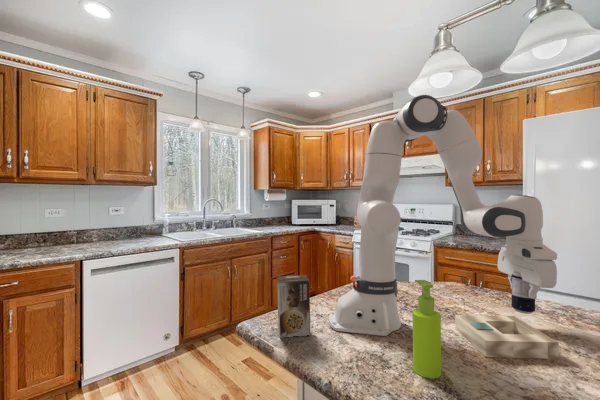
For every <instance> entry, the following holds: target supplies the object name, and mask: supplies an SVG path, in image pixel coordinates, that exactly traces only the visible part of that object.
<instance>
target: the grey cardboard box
mask: <svg viewBox="0 0 600 400" xmlns="http://www.w3.org/2000/svg"><path fill="white" fill-rule="evenodd" d="M276 279H277V282H276V283H277V287H276V288H277V290H276V291H277V329H278V330H277V331H278V336H280V337H289V338H294V337H293V336H299V337H307V335H309V336H311V334H312V333H311V307H310V306H311V305H310V304H311V303H310V302H311V299H310V297H311V295H310V293H311V292H310V279H309V278H308V277H307V275H306V274H301V275H300V274H298V275H296V274H295V275H283V276H281V275H280V276H277V277H276ZM280 337H279V338H280Z"/></svg>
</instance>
